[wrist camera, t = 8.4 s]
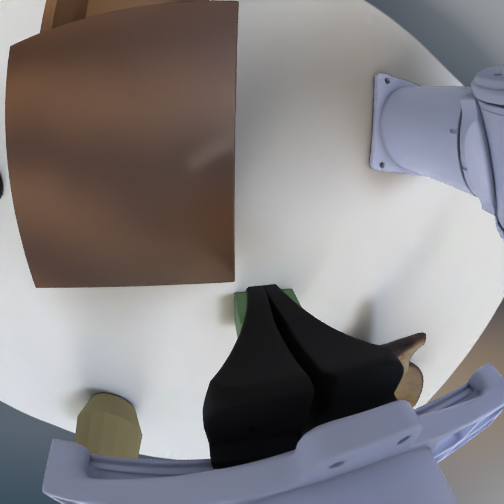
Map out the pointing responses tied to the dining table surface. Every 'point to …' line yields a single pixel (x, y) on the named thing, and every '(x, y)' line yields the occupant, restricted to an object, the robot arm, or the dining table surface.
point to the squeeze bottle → (109, 427)
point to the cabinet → (126, 147)
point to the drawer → (88, 9)
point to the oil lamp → (408, 367)
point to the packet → (241, 307)
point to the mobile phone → (0, 187)
